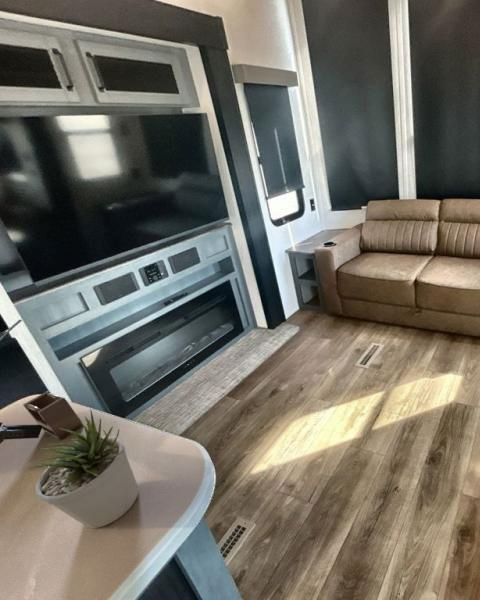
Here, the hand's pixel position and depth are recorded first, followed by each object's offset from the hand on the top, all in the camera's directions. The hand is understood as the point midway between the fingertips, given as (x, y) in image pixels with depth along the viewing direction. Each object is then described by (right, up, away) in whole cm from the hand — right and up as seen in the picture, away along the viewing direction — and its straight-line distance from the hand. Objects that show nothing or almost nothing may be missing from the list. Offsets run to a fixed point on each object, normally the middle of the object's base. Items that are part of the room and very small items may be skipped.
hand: (38, 431), depth 85 cm
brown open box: (+2, -1, +5) cm, 5 cm away
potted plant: (+31, -9, -16) cm, 36 cm away
